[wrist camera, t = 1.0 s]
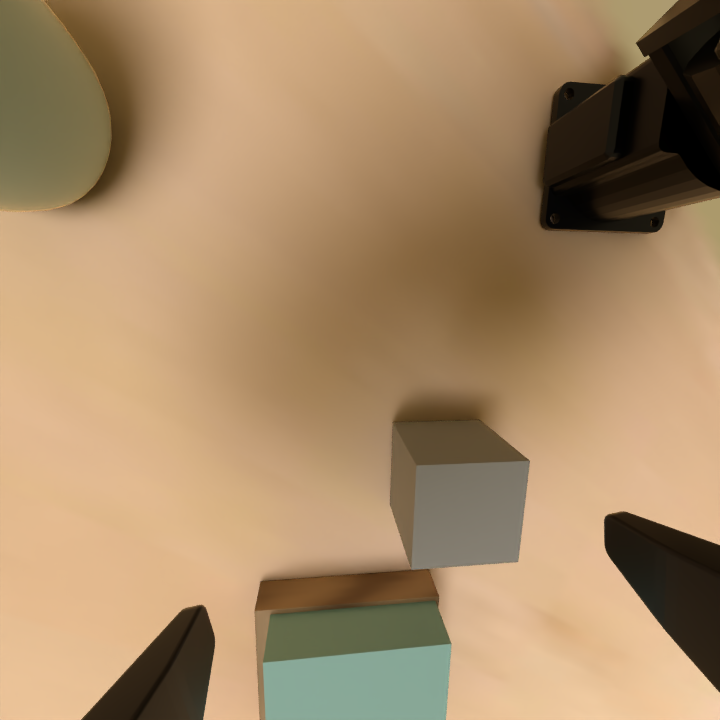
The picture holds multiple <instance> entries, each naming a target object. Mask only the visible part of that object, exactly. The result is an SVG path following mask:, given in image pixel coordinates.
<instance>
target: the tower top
mask: <svg viewBox="0 0 720 720" xmlns="http://www.w3.org/2000/svg"><path fill="white" fill-rule="evenodd" d="M450 655H451V642H450V639H449V636H448V634H447V631H446V628H445V625H444V623H443V620H442V617H441V615H440V612H439V609H438V607H437V604H436V601H424V602H412V603H400V604H389V605H377V606H365V607H354V608H342V609H330V610H319V611H307V612H295V613H283V614H272V615H270V620H269V626H268V633H267V639H266V646H265V652H264V659H263V676H264V697H265V718H266V720H446V710H447V696H448V683H449V669H450Z"/></svg>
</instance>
